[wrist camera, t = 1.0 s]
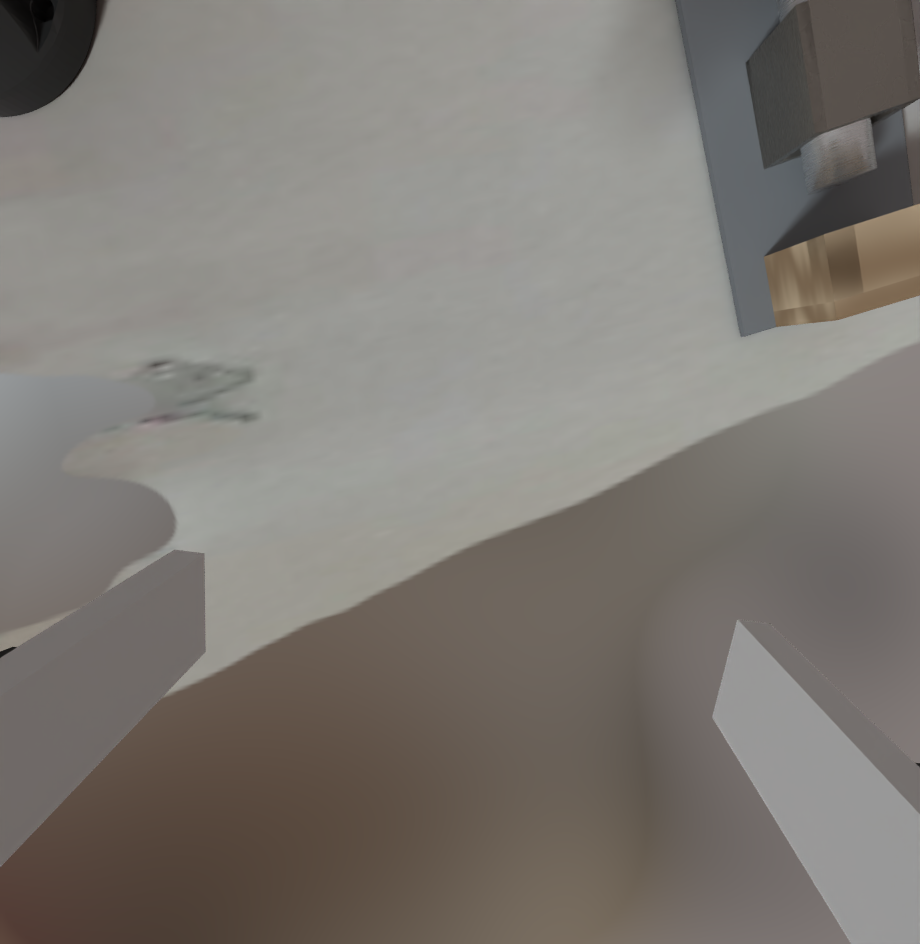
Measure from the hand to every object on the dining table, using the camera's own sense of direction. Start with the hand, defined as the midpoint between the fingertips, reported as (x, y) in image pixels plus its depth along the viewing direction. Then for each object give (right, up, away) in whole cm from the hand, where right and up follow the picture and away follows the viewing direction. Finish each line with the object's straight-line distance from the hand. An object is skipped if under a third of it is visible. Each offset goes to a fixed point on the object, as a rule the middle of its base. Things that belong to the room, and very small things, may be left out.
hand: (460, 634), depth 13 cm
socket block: (+23, +17, +20) cm, 35 cm away
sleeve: (+20, +26, +18) cm, 38 cm away
